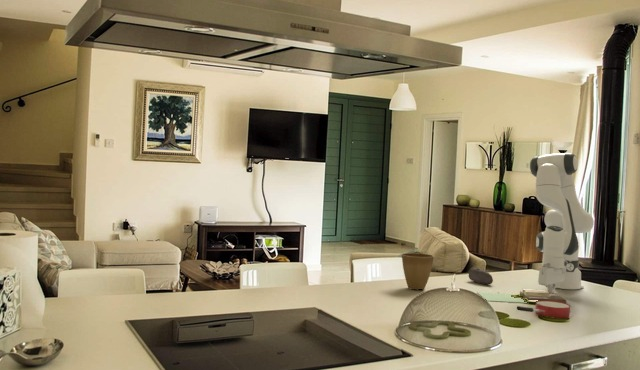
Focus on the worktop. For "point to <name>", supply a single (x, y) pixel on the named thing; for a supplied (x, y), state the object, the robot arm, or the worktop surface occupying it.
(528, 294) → the birch tile
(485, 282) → the grey stone
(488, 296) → the green mat
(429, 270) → the plant pot
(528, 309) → the red saucepan
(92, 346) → the worktop surface
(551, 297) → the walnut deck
